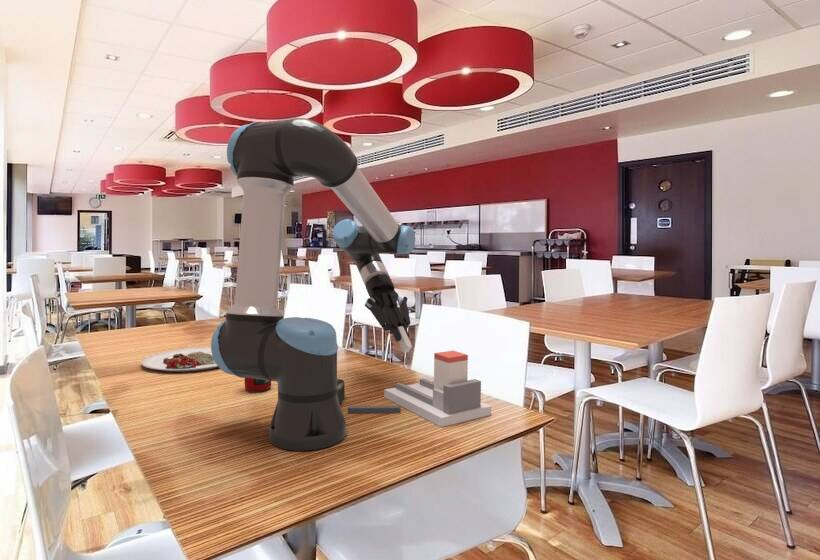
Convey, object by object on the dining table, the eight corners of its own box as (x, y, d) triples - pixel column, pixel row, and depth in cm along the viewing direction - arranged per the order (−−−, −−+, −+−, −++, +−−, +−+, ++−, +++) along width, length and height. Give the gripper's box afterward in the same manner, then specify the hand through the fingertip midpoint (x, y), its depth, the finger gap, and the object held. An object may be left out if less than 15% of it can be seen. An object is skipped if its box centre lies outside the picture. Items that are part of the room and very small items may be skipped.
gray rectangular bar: (347, 415, 115) (347, 408, 114) (348, 412, 116) (348, 405, 116) (400, 414, 115) (400, 407, 115) (400, 412, 117) (400, 405, 116)
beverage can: (263, 393, 129) (262, 347, 128) (239, 392, 130) (238, 346, 129) (275, 386, 135) (275, 342, 134) (252, 384, 137) (252, 341, 136)
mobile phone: (334, 377, 128) (319, 393, 112) (345, 377, 127) (332, 394, 112) (334, 396, 128) (319, 415, 113) (345, 397, 128) (332, 416, 113)
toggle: (433, 401, 116) (434, 353, 115) (452, 397, 119) (453, 350, 118) (448, 407, 111) (448, 357, 110) (467, 403, 114) (467, 354, 113)
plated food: (243, 350, 181) (243, 340, 180) (243, 370, 152) (243, 360, 152) (150, 355, 171) (150, 345, 171) (132, 378, 143) (131, 367, 143)
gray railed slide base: (384, 397, 126) (384, 366, 126) (429, 388, 134) (430, 359, 133) (441, 427, 106) (441, 390, 106) (491, 414, 114) (491, 380, 113)
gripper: (392, 289, 149) (422, 355, 136) (352, 290, 142) (380, 360, 129) (401, 272, 144) (434, 339, 131) (361, 272, 137) (391, 343, 124)
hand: (407, 349), depth 130 cm, fingers closed
